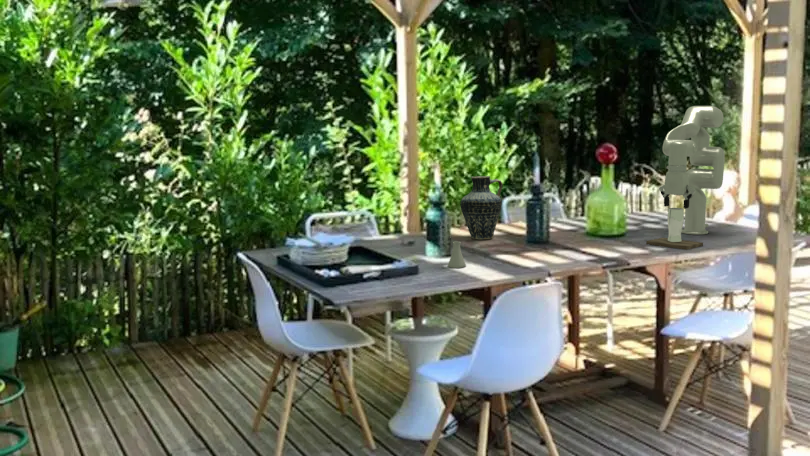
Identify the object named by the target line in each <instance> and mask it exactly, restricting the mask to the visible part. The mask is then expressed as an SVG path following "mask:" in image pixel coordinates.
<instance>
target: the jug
mask: <svg viewBox="0 0 810 456" xmlns="http://www.w3.org/2000/svg"><path fill="white" fill-rule="evenodd" d="M471 183H472V190H471V191H470V192H469V193H468V194H466V195H464V196H462V198H461V200H460V203H459V204H460V210H461V212H462V215H463V218H464V220H465V223H466V227H467V230H468V232H469V236H470V238H472V239H473V240H490V239H494V234H495V230H496V227H497V223H498V221H499V217H500V214H501V210H502V205H503V203H502V199H501V198H502V197H501V193H502V190H503V187H504V186H503V185H504V184H503V182H502V180H500V179H498V178H495V179H491V176H490V175H483V176H482V175H478V176H477V175H475V176H471ZM494 183H498V189H497V193H496V194H495V193H493V192H492V191H491V189H490V185H493V184H494Z"/></svg>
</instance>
